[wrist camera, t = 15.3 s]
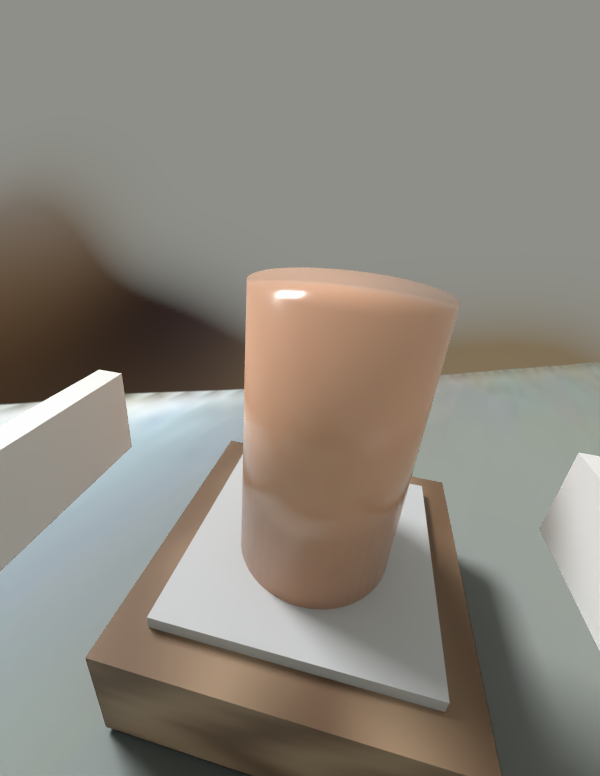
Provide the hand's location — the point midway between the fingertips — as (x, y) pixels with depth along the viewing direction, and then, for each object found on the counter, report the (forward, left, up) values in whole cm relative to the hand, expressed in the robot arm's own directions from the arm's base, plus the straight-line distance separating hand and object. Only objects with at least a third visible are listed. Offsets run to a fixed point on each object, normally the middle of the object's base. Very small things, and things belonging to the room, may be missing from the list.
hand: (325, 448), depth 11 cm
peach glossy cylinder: (0, +4, -8) cm, 9 cm away
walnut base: (0, +4, -13) cm, 14 cm away
